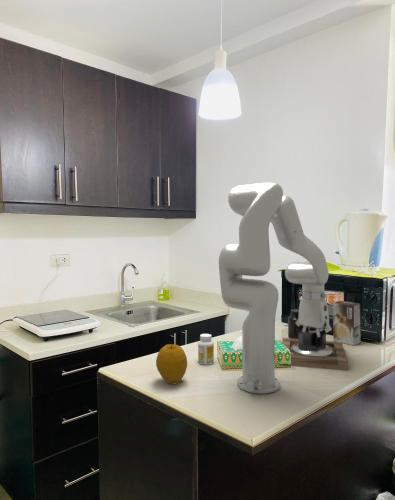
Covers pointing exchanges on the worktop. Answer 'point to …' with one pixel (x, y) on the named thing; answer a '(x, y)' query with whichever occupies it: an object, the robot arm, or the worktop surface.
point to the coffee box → (346, 322)
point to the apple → (171, 363)
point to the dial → (311, 345)
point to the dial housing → (333, 362)
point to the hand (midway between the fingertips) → (312, 345)
